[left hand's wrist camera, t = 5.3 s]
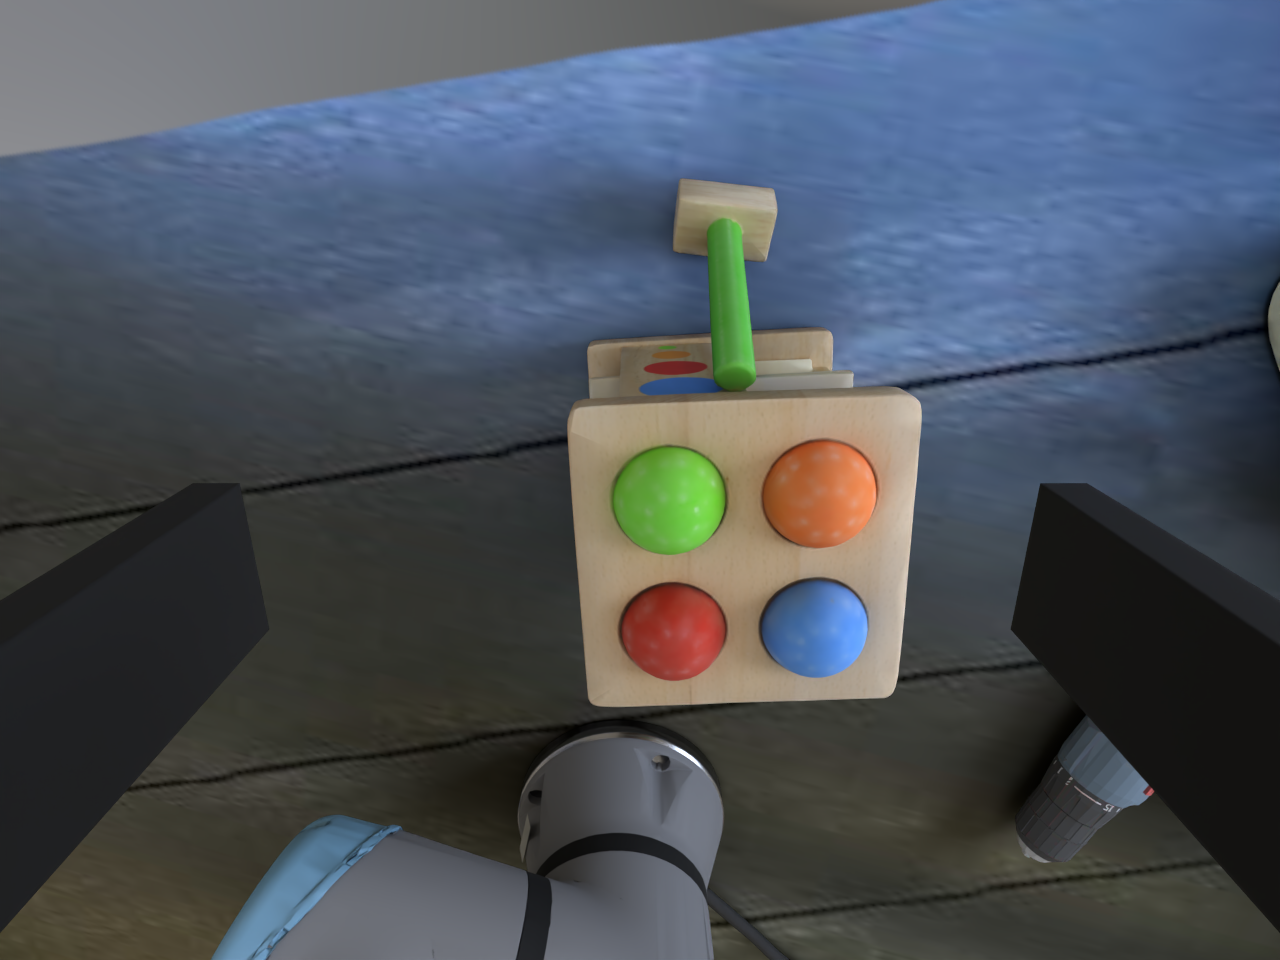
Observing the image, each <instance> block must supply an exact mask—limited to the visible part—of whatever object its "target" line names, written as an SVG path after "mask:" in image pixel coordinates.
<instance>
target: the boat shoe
mask: <svg viewBox="0 0 1280 960" xmlns="http://www.w3.org/2000/svg"><path fill="white" fill-rule="evenodd" d="M1268 328H1269V338H1270V342H1271V345H1272V349H1273V352H1274V355H1275V359H1276V362H1277V364H1278V367H1279V370H1280V283H1279V284H1278V286H1277V288H1276V290H1275V292H1274V294H1273V296H1272V300H1271V304H1270V307H1269V314H1268Z"/></svg>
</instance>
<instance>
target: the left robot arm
mask: <svg viewBox="0 0 1280 960" xmlns="http://www.w3.org/2000/svg"><path fill="white" fill-rule="evenodd" d="M268 630H269V626H268V621H267V616H266V611H265V606H264V601H263V596H262V591H261V586H260V581H259V576H258V571H257V567H256V562H255V557H254V552H253V547H252V542H251V537H250V532H249V527H248V522H247V517H246V512H245V508H244V503H243V498H242V493H241V488H240V483H193V484H191V485H189V486H188V487H186V488H185V489H183V490H181V491H180V492H178V493H176V494H175V495H173V496H171V497H170V498H168V499H166V500H165V501H163V502H162V503H160V504H158V505H157V506H155V507H153V508H152V509H150V510H148V511H147V512H145V513H143V514H142V515H140V516H139V517H137V518H135V519H134V520H132V521H130V522H129V523H127V524H125V525H124V526H122V527H120V528H119V529H117V530H116V531H114V532H112V533H111V534H109V535H107V536H106V537H104V538H102V539H101V540H99V541H97V542H96V543H94V544H93V545H91V546H89V547H88V548H86V549H84V550H83V551H81V552H79V553H78V554H76V555H74V556H73V557H71V558H70V559H68V560H66V561H65V562H63V563H61V564H60V565H58V566H56V567H55V568H53V569H51V570H50V571H48V572H47V573H45V574H43V575H42V576H40V577H38V578H37V579H35V580H33V581H32V582H30V583H29V584H27V585H25V586H24V587H22V588H20V589H19V590H17V591H15V592H14V593H12V594H10V595H9V596H7V597H6V598H4V599H2V600H1V601H0V932H1V931H2V930H3V929H4V928H5V927H6V926H7V925H8V923H9V922H10V921H11V920H12V919H13V918H14V917H15V915H16V914H17V913H18V912H19V911H20V910H21V909H22V908H23V906H24V905H25V904H26V903H27V902H28V901H29V900H30V899H31V897H32V896H33V895H34V894H35V893H36V892H37V891H38V890H39V888H40V887H41V886H42V885H43V884H44V883H45V882H46V881H47V879H48V878H49V877H50V876H51V875H52V874H53V873H54V871H55V870H56V869H57V868H58V867H59V866H60V865H61V864H62V862H63V861H64V860H65V859H66V858H67V857H68V856H69V855H70V853H71V852H72V851H73V850H74V849H75V848H76V847H77V846H78V844H79V843H80V842H81V841H82V840H83V839H84V838H85V837H86V835H87V834H88V833H89V832H90V831H91V830H92V829H93V828H94V826H95V825H96V824H97V823H98V822H99V821H100V820H101V818H102V817H103V816H104V815H105V814H106V813H107V812H108V811H109V809H110V808H111V807H112V806H113V805H114V804H115V803H116V802H117V800H118V799H119V798H120V797H121V796H122V795H123V794H124V793H125V791H126V790H127V789H128V788H129V787H130V786H131V785H132V784H133V782H134V781H135V780H136V779H137V778H138V777H139V776H140V774H141V773H142V772H143V771H144V770H145V769H146V768H147V767H148V765H149V764H150V763H151V762H152V761H153V760H154V759H155V758H156V756H157V755H158V754H159V753H160V752H161V751H162V750H163V749H164V747H165V746H166V745H167V744H168V743H169V742H170V741H171V740H172V738H173V737H174V736H175V735H176V734H177V733H178V732H179V731H180V729H181V728H182V727H183V726H184V725H185V724H186V723H187V721H188V720H189V719H190V718H191V717H192V716H193V715H194V714H195V712H196V711H197V710H198V709H199V708H200V707H201V706H202V705H203V703H204V702H205V701H206V700H207V699H208V698H209V697H210V696H211V694H212V693H213V692H214V691H215V690H216V689H217V688H218V687H219V685H220V684H221V683H222V682H223V681H224V680H225V679H226V677H227V676H228V675H229V674H230V673H231V672H232V671H233V670H234V668H235V667H236V666H237V665H238V664H239V663H240V662H241V661H242V659H243V658H244V657H245V656H246V655H247V654H248V653H249V652H250V650H251V649H252V648H253V647H254V646H255V645H256V644H257V643H258V641H259V640H260V639H261V638H262V637H263V636H264V635H265V634H266V632H267V631H268ZM1011 630H1012V631H1013V632H1014V634H1015V635H1016V636H1017V637H1018V638H1019V639H1020V640H1021V641H1022V643H1023V644H1024V645H1025V646H1026V647H1027V648H1028V649H1029V650H1030V652H1031V653H1032V654H1033V655H1034V656H1035V657H1036V658H1037V659H1038V661H1039V662H1040V663H1041V664H1042V665H1043V666H1044V667H1045V668H1046V670H1047V671H1048V672H1049V673H1050V674H1051V675H1052V676H1053V677H1054V679H1055V680H1056V681H1057V682H1058V683H1059V684H1060V685H1061V687H1062V688H1063V689H1064V690H1065V691H1066V692H1067V693H1068V694H1069V696H1070V697H1071V698H1072V699H1073V700H1074V701H1075V702H1076V703H1077V705H1078V706H1079V707H1080V708H1081V709H1082V710H1083V711H1084V712H1085V714H1086V715H1087V716H1088V717H1089V718H1090V719H1091V720H1092V721H1093V723H1094V724H1095V725H1096V726H1097V727H1098V728H1099V729H1100V731H1101V732H1102V733H1103V734H1104V735H1105V736H1106V737H1107V738H1108V740H1109V741H1110V742H1111V743H1112V744H1113V745H1114V746H1115V747H1116V749H1117V750H1118V751H1119V752H1120V753H1121V754H1122V755H1123V756H1124V758H1125V759H1126V760H1127V761H1128V762H1129V763H1130V764H1131V765H1132V767H1133V768H1134V769H1135V770H1136V771H1137V772H1138V773H1139V774H1140V776H1141V777H1142V778H1143V779H1144V780H1145V781H1146V782H1147V784H1148V785H1149V786H1150V787H1151V788H1152V789H1153V790H1154V791H1155V793H1156V794H1157V795H1158V796H1159V797H1160V798H1161V799H1162V800H1163V802H1164V803H1165V804H1166V805H1167V806H1168V807H1169V808H1170V809H1171V811H1172V812H1173V813H1174V814H1175V815H1176V816H1177V817H1178V818H1179V820H1180V821H1181V822H1182V823H1183V824H1184V825H1185V826H1186V828H1187V829H1188V830H1189V831H1190V832H1191V833H1192V834H1193V835H1194V837H1195V838H1196V839H1197V840H1198V841H1199V842H1200V843H1201V844H1202V846H1203V847H1204V848H1205V849H1206V850H1207V851H1208V852H1209V853H1210V855H1211V856H1212V857H1213V858H1214V859H1215V860H1216V861H1217V862H1218V864H1219V865H1220V866H1221V867H1222V868H1223V869H1224V870H1225V871H1226V873H1227V874H1228V875H1229V876H1230V877H1231V878H1232V879H1233V881H1234V882H1235V883H1236V884H1237V885H1238V886H1239V887H1240V888H1241V890H1242V891H1243V892H1244V893H1245V894H1246V895H1247V896H1248V897H1249V899H1250V900H1251V901H1252V902H1253V903H1254V904H1255V905H1256V906H1257V908H1258V909H1259V910H1260V911H1261V912H1262V913H1263V914H1264V915H1265V917H1266V918H1267V919H1268V920H1269V921H1270V922H1271V923H1272V925H1273V926H1274V927H1275V928H1276V929H1277V930H1278V931H1279V932H1280V601H1279V600H1278V599H1276V598H1274V597H1273V596H1271V595H1270V594H1268V593H1266V592H1265V591H1263V590H1261V589H1260V588H1258V587H1256V586H1255V585H1253V584H1251V583H1250V582H1248V581H1247V580H1245V579H1243V578H1242V577H1240V576H1238V575H1237V574H1235V573H1233V572H1232V571H1230V570H1229V569H1227V568H1225V567H1224V566H1222V565H1220V564H1219V563H1217V562H1215V561H1214V560H1212V559H1210V558H1209V557H1207V556H1206V555H1204V554H1202V553H1201V552H1199V551H1197V550H1196V549H1194V548H1192V547H1191V546H1189V545H1187V544H1186V543H1184V542H1183V541H1181V540H1179V539H1178V538H1176V537H1174V536H1173V535H1171V534H1169V533H1168V532H1166V531H1164V530H1163V529H1161V528H1160V527H1158V526H1156V525H1155V524H1153V523H1151V522H1150V521H1148V520H1146V519H1145V518H1143V517H1141V516H1140V515H1138V514H1137V513H1135V512H1133V511H1132V510H1130V509H1128V508H1127V507H1125V506H1123V505H1122V504H1120V503H1118V502H1117V501H1115V500H1114V499H1112V498H1110V497H1109V496H1107V495H1105V494H1104V493H1102V492H1100V491H1099V490H1097V489H1096V488H1094V487H1092V486H1091V485H1089V484H1087V483H1040V488H1039V493H1038V498H1037V503H1036V507H1035V512H1034V517H1033V522H1032V527H1031V532H1030V537H1029V542H1028V547H1027V552H1026V557H1025V562H1024V566H1023V571H1022V576H1021V581H1020V586H1019V591H1018V596H1017V601H1016V606H1015V611H1014V616H1013V621H1012V626H1011ZM518 826H519V831H520V835H521V839H522V840H521V844H520V853H521V858H522V863H523V859H524V854H525V859H526V864H527V869H528V872H527V871H525V870H523V869H520V868H516V867H513V866H510V865H507V864H504V863H501V862H497V861H494V860H491V859H488V858H485V857H481V856H478V855H475V854H472V853H469V852H466V851H463V850H460V849H457V848H454V847H451V846H448V845H445V844H442V843H439V842H436V841H433V840H430V839H427V838H424V837H421V836H418V835H415V834H412V833H409V832H406V831H403V829H402V827H401V826H398V825H390V826H384V825H379V824H375V823H371V822H367V821H364V820H360V819H356V818H352V817H348V816H344V815H330V816H325V817H322V818H320V819H318V820H316V821H314V822H312V823H311V824H309V825H308V826H307V827H305V828H304V829H303V830H302V831H301V832H300V833H299V834H298V835H297V836H296V837H295V838H294V839H293V840H292V841H291V842H290V843H289V844H288V845H287V847H286V848H285V849H284V850H283V851H282V853H281V854H280V855H279V856H278V858H277V859H276V860H275V862H274V863H273V864H272V866H271V867H270V868H269V870H268V871H267V873H266V874H265V875H264V877H263V878H262V879H261V881H260V882H259V884H258V885H257V887H256V888H255V890H254V891H253V893H252V894H251V896H250V897H249V899H248V900H247V902H246V903H245V905H244V906H243V908H242V909H241V911H240V912H239V914H238V915H237V917H236V919H235V920H234V922H233V923H232V925H231V926H230V928H229V930H228V931H227V933H226V935H225V936H224V938H223V939H222V941H221V943H220V944H219V946H218V948H217V950H216V952H215V953H214V955H213V957H212V959H211V960H714V956H713V947H712V937H711V928H710V919H709V911H708V905H709V906H710V907H711V908H712V909H713V910H715V911H716V912H717V913H718V914H719V915H720V916H722V917H723V918H724V919H725V920H726V921H728V922H729V923H730V924H731V925H732V926H733V927H735V928H736V929H737V930H738V931H739V932H741V933H742V934H743V935H744V936H745V937H746V938H748V939H749V940H750V941H751V942H752V943H753V944H754V945H755V946H756V947H757V948H758V949H759V950H761V951H762V952H763V953H764V954H765V955H766V956H767V957H768V958H769V959H770V960H790V959H788V958H787V957H786V956H785V955H783V954H782V953H781V952H780V951H779V950H777V949H776V948H775V947H774V946H773V945H772V944H771V943H770V942H769V941H768V940H767V939H766V938H765V937H764V936H763V935H762V934H761V933H760V932H759V931H758V930H757V929H755V928H754V927H753V926H752V925H751V924H750V923H749V922H747V921H746V920H745V919H744V918H743V917H741V916H740V915H739V914H738V913H737V912H736V911H734V910H733V909H732V908H731V907H730V906H729V905H728V904H726V903H725V902H724V901H723V900H722V899H721V898H720V897H718V896H717V895H716V894H715V893H714V892H713V891H712V890H710V889H709V888H708V883H709V879H710V876H711V872H712V868H713V865H714V861H715V857H716V853H717V850H718V846H719V842H720V839H721V836H722V832H723V827H724V808H723V801H722V794H721V788H720V783H719V780H718V777H717V775H716V773H715V770H714V768H713V767H712V765H711V764H710V762H709V761H708V759H707V758H706V757H705V755H704V754H703V753H702V752H701V751H700V750H699V749H698V748H697V747H696V746H694V745H693V744H692V743H691V742H689V741H688V740H686V739H685V738H684V737H682V736H680V735H678V734H676V733H675V732H672V731H670V730H668V729H666V728H663V727H660V726H657V725H653V724H649V723H645V722H639V721H629V720H613V721H603V722H597V723H592V724H588V725H585V726H582V727H579V728H576V729H574V730H571V731H569V732H567V733H565V734H563V735H562V736H560V737H558V738H557V739H555V740H554V741H552V742H551V743H550V744H549V745H547V746H546V747H545V748H544V749H543V750H542V751H541V752H540V753H539V754H538V756H537V757H536V758H535V759H534V761H533V762H532V764H531V766H530V767H529V769H528V771H527V774H526V776H525V779H524V782H523V787H522V792H521V797H520V802H519V807H518Z"/></svg>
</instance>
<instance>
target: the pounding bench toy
mask: <svg viewBox="0 0 1280 960" xmlns="http://www.w3.org/2000/svg"><path fill="white" fill-rule="evenodd" d="M777 211H778V210H777V202H776V198H775V193H774V190H773V189H772V188H764V187H755V186H746V185H737V184H728V183H720V182H711V181H702V180H693V179H680V180H679V186H678V193H677V201H676V210H675V219H674V228H673V251H675V252H677V253H686V254H693V255H702V256H708V275H709V299H710V324H711V333H702V334H686V335H671V336H655V337H638V338H622V339H608V340H595V341H592V342H590V344H589V346H588V350H587V359H588V373H589V398H590V399H581V400H578V401H576V402H575V403H574V404H573V406H572V409H571V411H570V414H569V417H568V422H567V432H568V449H569V464H570V478H571V491H572V505H573V518H574V531H575V544H576V557H577V569H578V580H579V593H580V605H581V618H582V630H583V642H584V654H585V665H586V677H587V688H588V699H589V700H590V702H591V703H592V704H594V705H596V706H605V707H630V706H658V705H689V704H711V703H731V702H769V701H808V700H834V699H860V698H886V697H888V696H890V695H891V694H892V693H893V691H894V689H895V686H896V682H897V678H898V670H899V661H900V652H901V642H902V632H903V622H904V612H905V600H906V588H907V576H908V565H909V555H910V544H911V534H912V522H913V509H914V498H915V489H916V480H917V468H918V455H919V442H920V431H921V416H922V410H921V405H920V402H919V401H918V400H917V399H916V398H915V397H913V396H912V395H910V394H909V393H907V392H905V391H903V390H902V389H900V388H897V387H886V386H879V387H853V376H854V374H853V372H852V371H850V370H838V371H832V359H833V337H832V333H831V332H830V331H829V330H827V329H825V328H822V327H808V328H789V329H771V330H753V331H751V321H750V312H749V302H748V293H747V284H746V275H745V265H744V260H746V261H755V262H764V261H766V260H767V255H768V251H769V246H770V242H771V238H772V234H773V230H774V226H775V221H776V216H777Z"/></svg>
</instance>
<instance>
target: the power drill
mask: <svg viewBox="0 0 1280 960" xmlns="http://www.w3.org/2000/svg"><path fill="white" fill-rule="evenodd" d="M1153 792H1154V790H1153V789H1152V788H1151V787H1150V786H1149V785H1148V784H1147V782H1146V781H1145V780H1144V779H1143V778H1142V777H1141V776H1140V774H1139V773H1138V772H1137V771H1136V770H1135V769H1134V768H1133V767H1132V765H1131V764H1130V763H1129V762H1128V761H1127V760H1126V759H1125V758H1124V756H1123V755H1122V754H1121V753H1120V752H1119V751H1118V750H1117V749H1116V747H1115V746H1114V745H1113V744H1112V743H1111V742H1110V741H1109V740H1108V738H1107V737H1106V736H1105V735H1104V734H1103V733H1102V732H1101V731H1100V729H1099V728H1098V727H1097V726H1096V725H1095V724H1094V723H1093V721H1092V720H1091V719H1090V718H1089V717H1088V716H1087V715H1086V716H1085V717H1084V718H1083V719H1082V721H1081V722H1080V723H1079V724H1078V726H1077V727H1076V728H1075V729H1074V731H1073V732H1072V733H1071V734H1070V736H1069V737H1068V738H1067V739H1066V741H1065V742H1064V743H1063V745H1062V747H1061V749H1060V751H1059V752H1058V754H1057V755H1056V757H1055V758H1054V759H1053V760H1052V763H1051V764H1050V766H1049V768H1048V769H1047V771H1046V773H1045V775H1044V777H1043V779H1042V780H1041V783H1040V784H1039V785H1038V787H1037V788H1036V789H1035V790H1034V791H1033V793H1032V794H1031V795H1029V796H1028V799H1027V800H1026V802H1025V803H1024V805H1023V806H1022V807H1021V809H1020V810H1019V812H1018V813H1017V814H1016V816H1015V821H1016V829H1017V839H1018V842H1019V845H1020V846H1021V847H1022V852H1023V854H1024V855H1025V856H1027V857H1028V858H1029V857H1030V856H1031V857H1032V858H1033V860H1034V859H1035V860H1037V861H1039V862H1067V861H1069V860H1070V859H1071V858H1072V857H1073V856H1074V855H1075V854H1076V853H1077V852H1078V851H1079V850H1080V849H1081V848H1082V847H1083V846H1084V845H1085V844H1087V841H1088V840H1089V839H1090V838H1091V837H1092V836H1093V834H1094V833H1095V832H1096V831H1097V830H1098V829H1099V828H1101V827H1102V826H1103V825H1104V824H1106V823H1107V822H1108V821H1109V820H1111V819H1112V818H1113V817H1114V816H1116V815H1117V814H1118V813H1119V812H1120V811H1121V810H1122V809H1123V808H1126V807H1128V806H1131V805H1139V804H1141V803H1142V802H1143V801H1145V800H1146V799H1147V798H1148V797H1149V796H1151V795H1152V794H1153Z"/></svg>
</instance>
